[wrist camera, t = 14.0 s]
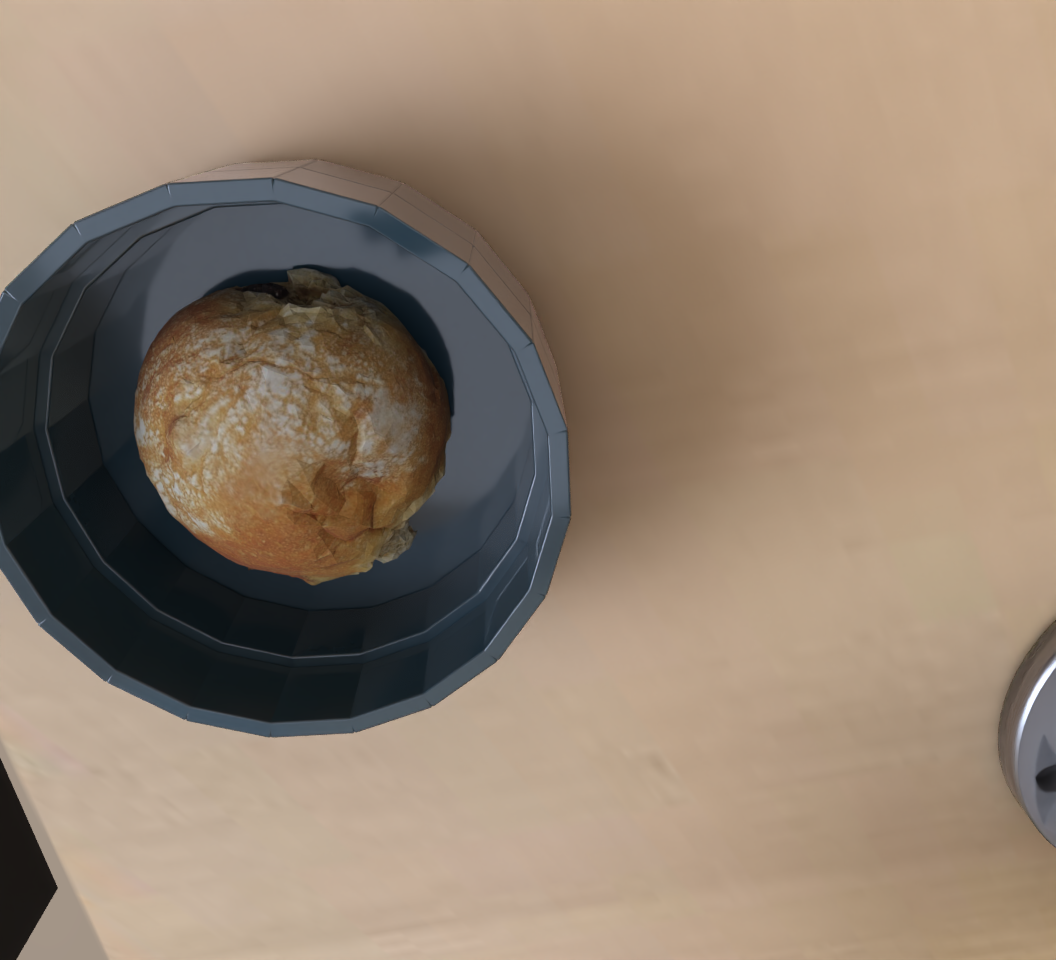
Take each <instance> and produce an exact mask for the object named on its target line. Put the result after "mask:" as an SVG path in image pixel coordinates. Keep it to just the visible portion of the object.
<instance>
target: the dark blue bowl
mask: <svg viewBox="0 0 1056 960" xmlns="http://www.w3.org/2000/svg"><path fill="white" fill-rule="evenodd" d="M301 268H307V269H313V270H317V271H320V272H322V273H326V274H331V275H332V276H334V277H335V278H337V280H338V281H339V283H340V286H341V287H345V286H347V285H348V286H350V287H351V288H353V289H355V290H356V291H358V292H359V293H361V294H363V295H365V296H367V297H369V298H372V299H374V300H376V301H379V302H381V303H382V304H383V305H385V306H386V307H387V308H388V309H389V310H390V311H391V312H392V313H393V314H394V315H395V316H396V317H397V318H398V319H399V320H400V322H401V323H402V324H403V325H404V327H405V328H406V329H407V331H408V332H409V333H410V334H411V336H412V337H413V338H414V340H415V341H416V342H417V344H418V345H419V346H420V347H421V348H422V349H424V350H425V351H426V353H427V356H428V358H429V359H430V360H431V362H432V364H433V365H434V366H435V368H436V370H437V371H438V373H439V375H440V377H441V378H442V379H443V380H444V383H445V387H446V390H447V394H448V401H449V407H450V430H451V432H452V433H451V436H450V438H449V440H448V441H447V443H446V449H445V453H446V466H445V475H444V476H443V477H442V478H441V480H440V481H439V482H438V483H437V484H436V486H435V492H434V493H433V494H432V495H431V497H430V498H429V499H428V500H427V501H426V502H425V503H424V504H423V505H422V506H421V508H420V509H419V510H418V511H417V512H416V513H414V514H413V515H412V516H411V517H410V518H409V521H408V522H409V526H411V527H412V529H413V531H416V530H417V533H416V536H415V538H414V540H413V542H412V545H411V547H410V548H409V550H406V551H404V552H403V553H402V554H400V555H399V557H398V558H397V559H394V560H391V561H389V562H386V563H382V562H381V561H379V560H376V559H375V560H374V562H373V567H372V568H371V569H370V570H369V571H367V572H359V574H355V575H347V576H343V577H339V578H336V579H333V580H329V581H325V582H321V583H319V584H317V585H310V584H308V583H306V582H305V581H304V580H303V579H300V578H298V577H291V576H289V575H284V574H278V573H273V572H268V571H263V570H257V569H253V570H248V567H246V566H243V565H239V564H237V563H235V562H233V561H231V560H229V559H227V558H225V557H224V556H222V555H221V554H219V553H218V552H216V551H215V550H213V549H212V548H210V547H209V546H207V545H206V544H205V543H203V542H202V541H200V540H198V539H197V538H196V537H195V536H194V535H193V534H192V533H191V532H190V531H189V530H188V529H186V528H185V527H184V526H183V525H182V524H181V523H180V522H179V521H178V520H176V519H175V518H174V517H173V516H172V515H171V514H170V513H169V512H168V510H167V508H166V506H165V504H164V502H163V500H162V499H161V497H160V495H159V493H158V491H157V489H156V488H155V486H154V485H153V483H152V482H151V481H150V479H149V477H148V476H147V474H146V469H145V466H144V463H143V462H142V460H141V459H140V455H139V450H138V446H137V442H136V438H135V434H134V407H135V392H136V389H137V384H138V377H139V372H140V370H141V367H142V364H143V361H144V359H145V356H146V354H147V351H148V349H149V347H150V345H151V343H152V342H153V341H154V339H155V338H156V336H157V334H158V332H159V331H160V330H161V329H162V328H163V326H164V325H165V324H166V323H167V322H168V320H169V319H170V318H171V317H172V316H173V315H174V314H175V313H176V312H178V311H179V310H181V309H182V308H184V307H185V306H187V305H189V304H190V303H192V302H194V301H196V300H198V299H201V298H203V297H205V296H207V295H209V294H211V293H214V292H215V291H218V290H223V289H226V288H231V287H235V286H238V287H245V286H249V285H253V284H264V283H271V282H288V275H287V271H288V270H294V269H301ZM570 516H571V494H570V467H569V440H568V428H567V422H566V416H565V411H564V405H563V399H562V393H561V388H560V382H559V376H558V371H557V366H556V363H555V361H554V358H553V356H552V353H551V350H550V348H549V345H548V343H547V340H546V337H545V335H544V332H543V329H542V327H541V324H540V322H539V319H538V316H537V314H536V311H535V309H534V306H533V303H532V301H531V298H530V296H529V294H528V293H527V291H526V290H525V289H524V288H523V286H522V285H521V284H520V283H519V282H518V280H517V279H516V278H515V277H514V275H513V274H512V273H511V272H510V270H509V269H508V268H507V267H506V266H505V264H504V263H503V262H502V261H501V259H500V258H499V257H498V256H497V254H496V253H495V252H494V251H493V250H492V248H491V247H490V246H489V245H488V243H487V242H486V241H485V240H484V238H483V237H482V236H481V235H480V234H479V232H478V231H476V230H475V229H474V228H473V227H471V226H470V225H468V224H467V223H465V222H464V221H462V220H461V219H459V218H458V217H456V216H455V215H453V214H452V213H450V212H448V211H447V210H445V209H444V208H442V207H441V206H439V205H438V204H436V203H435V202H433V201H432V200H430V199H429V198H427V197H426V196H424V195H423V194H421V193H419V192H418V191H416V190H415V189H413V188H412V187H410V186H409V185H407V184H406V183H402V182H401V181H397V180H394V179H390V178H386V177H383V176H379V175H375V174H372V173H368V172H364V171H361V170H357V169H353V168H350V167H346V166H343V165H339V164H335V163H332V162H328V161H324V160H317V159H308V160H289V161H271V162H253V163H235V164H231V165H227V166H224V167H220V168H217V169H213V170H210V171H207V172H203V173H199V174H196V175H193V176H189V177H186V178H182V179H179V180H176V181H172V182H169V183H165V184H163V185H160V186H158V187H156V188H153V189H151V190H148V191H146V192H144V193H141V194H139V195H137V196H134V197H132V198H129V199H127V200H125V201H122V202H120V203H118V204H115V205H113V206H110V207H108V208H106V209H103V210H101V211H99V212H96V213H94V214H91V215H89V216H87V217H84V218H82V219H80V220H77V221H75V222H74V223H73V224H71V225H70V226H69V227H67V228H66V229H65V230H64V231H63V232H62V233H61V234H60V235H59V236H58V237H57V238H56V239H55V240H54V241H53V242H52V243H51V244H50V245H49V246H48V247H47V248H46V249H45V250H44V251H43V252H42V253H41V254H40V255H38V256H37V257H36V258H35V259H34V260H33V261H32V262H31V263H30V264H29V265H28V266H27V267H26V268H25V269H24V270H23V271H22V272H21V273H20V274H19V275H18V276H17V277H16V278H15V279H14V280H13V281H12V282H11V283H10V284H8V285H7V286H6V287H5V290H4V291H3V292H2V294H1V296H0V569H1V570H2V572H3V573H4V575H5V576H6V578H7V579H8V581H9V582H10V584H11V585H12V587H13V588H14V590H15V591H16V593H17V594H18V596H19V597H20V599H21V600H22V602H23V603H24V605H25V606H26V608H27V609H28V610H29V612H30V613H31V615H32V616H33V618H34V619H35V621H36V622H37V623H39V624H38V625H39V626H40V627H41V628H42V629H44V630H45V631H46V632H47V633H48V634H50V635H51V636H52V637H53V638H54V639H55V640H57V641H58V642H59V643H60V644H61V645H63V646H64V647H65V648H66V649H67V650H68V651H70V652H71V653H72V654H73V655H74V656H75V657H77V658H78V659H79V660H80V661H81V662H83V663H84V664H85V665H86V666H87V667H88V668H90V669H91V670H92V671H93V672H94V673H96V674H97V675H98V676H99V677H100V678H101V679H103V680H104V681H105V682H106V681H107V682H108V683H109V684H111V685H113V686H115V687H117V688H119V689H122V690H124V691H126V692H128V693H130V694H132V695H134V696H136V697H138V698H140V699H142V700H144V701H146V702H149V703H151V704H153V705H155V706H157V707H159V708H161V709H163V710H165V711H167V712H169V713H171V714H173V715H176V716H178V717H180V718H182V719H184V720H185V719H186V720H187V721H190V722H195V723H200V724H205V725H210V726H215V727H220V728H225V729H230V730H235V731H240V732H245V733H250V734H255V735H260V736H264V737H291V736H309V735H327V734H346V733H354V732H359V731H362V730H365V729H368V728H371V727H374V726H377V725H380V724H383V723H386V722H389V721H392V720H395V719H398V718H401V717H404V716H407V715H410V714H413V713H416V712H419V711H422V710H425V709H428V708H431V707H432V706H435V705H436V704H437V703H439V702H440V701H442V700H443V699H445V698H446V697H447V696H449V695H450V694H452V693H453V692H454V691H456V690H457V689H459V688H460V687H462V686H463V685H464V684H466V683H467V682H469V681H470V680H471V679H473V678H474V677H476V676H477V675H479V674H480V673H481V672H483V671H484V670H486V669H487V668H488V667H490V666H491V665H493V664H494V663H496V662H497V660H499V659H500V658H501V656H502V655H503V654H504V652H505V651H506V650H507V648H508V647H509V646H510V644H511V643H512V642H513V640H514V639H515V638H516V636H517V635H518V634H519V632H520V631H521V629H522V628H523V627H524V625H525V624H526V623H527V621H528V620H529V619H530V617H531V616H532V615H533V613H534V612H535V611H536V609H537V608H538V607H539V605H540V604H541V603H542V601H543V600H544V599H545V597H546V595H547V593H548V590H549V587H550V583H551V580H552V577H553V574H554V571H555V567H556V564H557V561H558V558H559V555H560V552H561V548H562V545H563V542H564V539H565V536H566V532H567V529H568V526H569V523H570V520H571V518H570Z"/></svg>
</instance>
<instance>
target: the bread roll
mask: <svg viewBox="0 0 1056 960" xmlns="http://www.w3.org/2000/svg"><path fill="white" fill-rule="evenodd" d="M287 275H288V282H271V283H264V284H253V285H249V286H245V287H238V286H235V287H231V288H226V289H223V290H218V291H215V292H214V293H211V294H209V295H207V296H205V297H203V298H201V299H198V300H196V301H194V302H192V303H190V304H189V305H187V306H185V307H184V308H182V309H181V310H179V311H178V312H176V313H175V314H174V315H173V316H172V317H171V318H170V319H169V320H168V322H167V323H166V324H165V325H164V326H163V328H162V329H161V330H160V331H159V332H158V334H157V336H156V338H155V339H154V341H153V342H152V343H151V345H150V347H149V349H148V351H147V354H146V356H145V359H144V361H143V364H142V367H141V370H140V372H139V377H138V384H137V389H136V392H135V407H134V434H135V438H136V442H137V446H138V450H139V455H140V459H141V460H142V462H143V463H144V466H145V469H146V474H147V476H148V477H149V479H150V481H151V482H152V483H153V485H154V486H155V488H156V489H157V491H158V493H159V495H160V497H161V499H162V500H163V502H164V504H165V506H166V508H167V510H168V512H169V513H170V514H171V515H172V516H173V517H174V518H175V519H176V520H178V521H179V522H180V523H181V524H182V525H183V526H184V527H185V528H186V529H188V530H189V531H190V532H191V533H192V534H193V535H194V536H195V537H196V538H197V539H198V540H200V541H202V542H203V543H205V544H206V545H207V546H209V547H210V548H212V549H213V550H215V551H216V552H218V553H219V554H221V555H222V556H224V557H225V558H227V559H229V560H231V561H233V562H235V563H237V564H239V565H243V566H246V567H248V570H253V569H257V570H263V571H268V572H273V573H278V574H284V575H289V576H291V577H298V578H300V579H303V580H304V581H305V582H306V583H308V584H310V585H317V584H319V583H321V582H325V581H329V580H333V579H336V578H339V577H343V576H347V575H355V574H359V572H367V571H369V570H370V569H371V568H372V567H373V562H374V560H375V559H376V560H379V561H381V562H382V563H386V562H389V561H391V560H394V559H397V558H398V557H399V555H400V554H402V553H403V552H404V551H406V550H409V548H410V547H411V545H412V542H413V540H414V538H415V536H416V533H417V530H416V531H413V529H412V527H411V526H409V522H408V521H409V518H410V517H411V516H412V515H413V514H414V513H416V512H417V511H418V510H419V509H420V508H421V506H422V505H423V504H424V503H425V502H426V501H427V500H428V499H429V498H430V497H431V495H432V494H433V493H434V492H435V486H436V484H437V483H438V482H439V481H440V480H441V478H442V477H443V476H444V475H445V466H446V453H445V449H446V443H447V441H448V440H449V438H450V436H451V433H452V432H451V430H450V407H449V401H448V394H447V390H446V387H445V383H444V380H443V379H442V378H441V377H440V375H439V373H438V371H437V370H436V368H435V366H434V365H433V364H432V362H431V360H430V359H429V358H428V356H427V353H426V351H425V350H424V349H422V348H421V347H420V346H419V345H418V344H417V342H416V341H415V340H414V338H413V337H412V336H411V334H410V333H409V332H408V331H407V329H406V328H405V327H404V325H403V324H402V323H401V322H400V320H399V319H398V318H397V317H396V316H395V315H394V314H393V313H392V312H391V311H390V310H389V309H388V308H387V307H386V306H385V305H383V304H382V303H381V302H379V301H376V300H374V299H372V298H369V297H367V296H365V295H363V294H361V293H359V292H358V291H356V290H355V289H353V288H351V287H350V286H348V285H347V286H345V287H341V286H340V283H339V281H338V280H337V278H335V277H334V276H332V275H331V274H326V273H322V272H320V271H317V270H313V269H307V268H301V269H294V270H288V271H287Z"/></svg>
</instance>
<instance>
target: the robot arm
mask: <svg viewBox="0 0 1056 960" xmlns="http://www.w3.org/2000/svg"><path fill="white" fill-rule="evenodd" d="M998 748H999V758H1000V762H1001V767H1002V771H1003V774H1004V777H1005V779H1006V782H1007V784H1008V786H1009V788H1010V790H1011V792H1012V794H1013V796H1014V797H1015V798H1016V800H1017V801H1018V803H1019V804H1020V806H1021V807H1022V808H1023V810H1024V811H1025V813H1026V814H1027V815H1028V817H1029V818H1030V820H1031V821H1032V822H1033V824H1034V825H1035V827H1036V828H1037V829H1038V831H1039V832H1040V833H1041V834H1042V835H1043V836H1044V838H1045V839H1046V840H1047V841H1048V842H1049V843H1050V844H1052V845H1053V846H1054V847H1055V848H1056V621H1055V622H1054V623H1053V624H1052V625H1051V626H1050V627H1049V628H1048V629H1047V630H1046V631H1045V632H1044V634H1043V635H1042V636H1041V637H1040V638H1039V639H1038V641H1037V642H1036V643H1035V645H1034V646H1033V647H1032V649H1031V650H1030V651H1029V652H1028V654H1027V656H1026V657H1025V659H1024V660H1023V662H1022V664H1021V665H1020V667H1019V668H1018V670H1017V672H1016V674H1015V676H1014V678H1013V680H1012V682H1011V685H1010V687H1009V690H1008V692H1007V695H1006V697H1005V701H1004V704H1003V708H1002V712H1001V717H1000V723H999V732H998ZM57 888H58V887H57V885H56V883H55V880H54V878H53V876H52V874H51V871H50V869H49V867H48V865H47V862H46V861H45V858H44V856H43V853H42V851H41V849H40V847H39V844H38V842H37V840H36V838H35V835H34V833H33V831H32V829H31V827H30V824H29V822H28V820H27V817H26V815H25V813H24V810H23V808H22V806H21V804H20V801H19V799H18V797H17V795H16V793H15V790H14V788H13V786H12V783H11V781H10V779H9V777H8V774H7V772H6V770H5V768H4V765H3V763H2V761H1V759H0V960H16V959H17V957H18V956H19V954H20V952H21V950H22V948H23V947H24V945H25V944H26V942H27V940H28V938H29V936H30V935H31V933H32V931H33V930H34V928H35V926H36V925H37V923H38V921H39V919H40V918H41V916H42V914H43V912H44V911H45V909H46V907H47V906H48V904H49V902H50V900H51V899H52V897H53V895H54V894H55V892H56V890H57Z"/></svg>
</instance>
